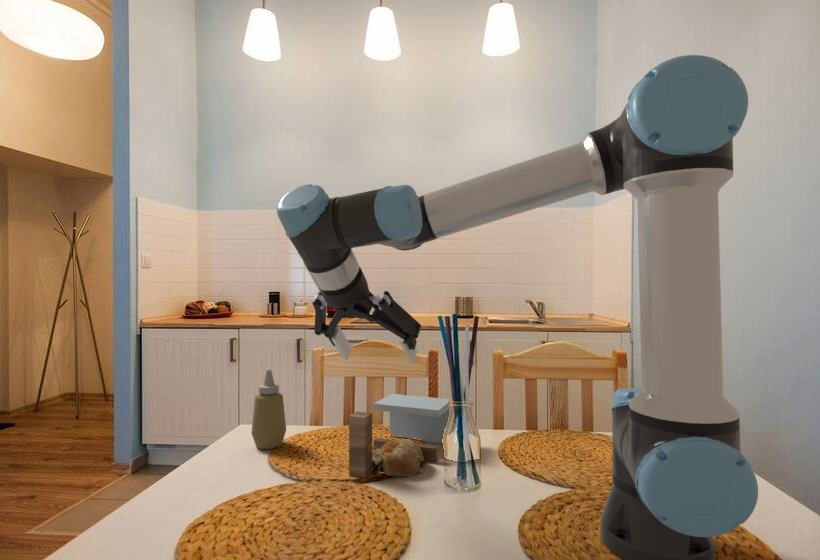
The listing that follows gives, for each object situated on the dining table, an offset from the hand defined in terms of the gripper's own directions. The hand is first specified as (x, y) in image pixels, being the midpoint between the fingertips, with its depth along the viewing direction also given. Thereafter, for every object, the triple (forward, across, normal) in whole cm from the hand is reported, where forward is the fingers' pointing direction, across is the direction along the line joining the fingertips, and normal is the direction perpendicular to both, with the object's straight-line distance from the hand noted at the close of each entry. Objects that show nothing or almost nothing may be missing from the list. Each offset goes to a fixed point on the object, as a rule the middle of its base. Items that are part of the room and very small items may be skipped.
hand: (380, 356), depth 91 cm
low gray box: (+35, +3, 0) cm, 35 cm away
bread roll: (+26, +1, +11) cm, 28 cm away
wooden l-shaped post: (+25, +2, +10) cm, 27 cm away
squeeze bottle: (+26, +35, +9) cm, 45 cm away
